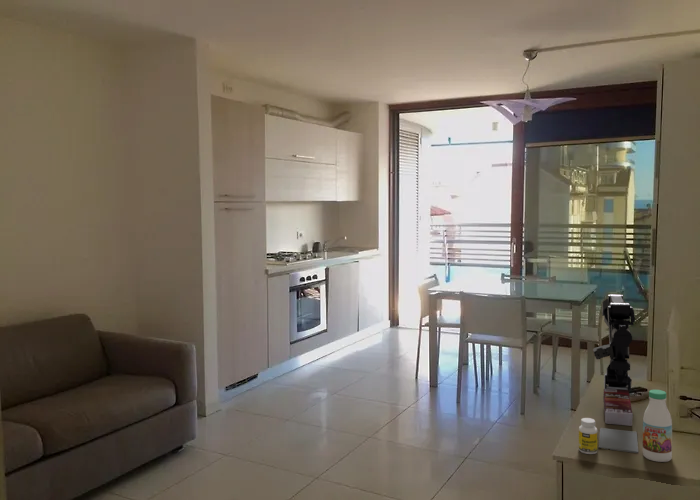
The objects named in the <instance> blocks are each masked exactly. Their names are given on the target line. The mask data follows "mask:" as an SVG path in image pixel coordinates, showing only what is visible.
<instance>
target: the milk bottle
mask: <svg viewBox="0 0 700 500" xmlns="http://www.w3.org/2000/svg"><path fill="white" fill-rule="evenodd" d="M648 396H649V397H648V399H649V401H648V405H647V407H646V409H645V411H644V413H643V419H642V455H643V457H644V458H645V459H647V460H650V461H652V462H657V463H658V462H659V463H667V462H669V461H671V460H672V458H673V420H672V415H671V413H670V411H669V409H668V406H667V403H666V401H667V392H666V391H664V390H661V389H650V390H649V392H648Z"/></svg>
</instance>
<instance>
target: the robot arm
mask: <svg viewBox="0 0 700 500" xmlns="http://www.w3.org/2000/svg"><path fill="white" fill-rule="evenodd" d="M601 305H602V306H601V316H603V321H604V323H605V324H606V326H607V328H608V337H609V338H608V341H609V343H608V344H604V345H600V346H598V347H594V348H593V349H592V351H593V355H594V357H595V359H596V360H601V359H602V358H607V357H609V364H608V365H607V367H606V370H605V373H604V374H603V375H604V378H603V390H604V389H615V390H628V391H629V393H630V392H631V391H632V378H631V376H630V375H629V371H631V362H630V361H629V360H628V359H630V344H631V343H632V341H633V335H632V332H631V331H630V326H634V323H635V322H636V315H635V309H634V307H633V306H631V304H630V303H629V302H626V301H625V300H624V296H623V294H620V293H619V294H615V293H613V294H612V293H610V294H607V297H606V298H605V300H603V301H602V304H601Z"/></svg>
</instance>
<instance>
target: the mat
mask: <svg viewBox="0 0 700 500" xmlns="http://www.w3.org/2000/svg"><path fill="white" fill-rule="evenodd" d="M598 438H599V439H598V440H599V441H598V449H600V448H604V449H603V450H608V449H610V450H609V451H618V452H623V453H624V452H626V453H631V454H632V453H633V454H634V453H635V454H639V444H638V432H637V431H632V430H631V431H630V430H625V429H624V430H622V429H615V428H614V429H613V428H605V427H599V437H598Z"/></svg>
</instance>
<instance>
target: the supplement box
mask: <svg viewBox="0 0 700 500" xmlns="http://www.w3.org/2000/svg"><path fill="white" fill-rule="evenodd" d="M602 399H603V401H602V402H603V411H604V413H603V414H604V423H605V424H607V425H608V424H609V425H618V426H619V425H620V426H630V427H632V426H633V415H634V414H633V408H632V403H631V402H632V401H631V396H630V392H629V391H628V390H615V389H604V388H603V396H602Z"/></svg>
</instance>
